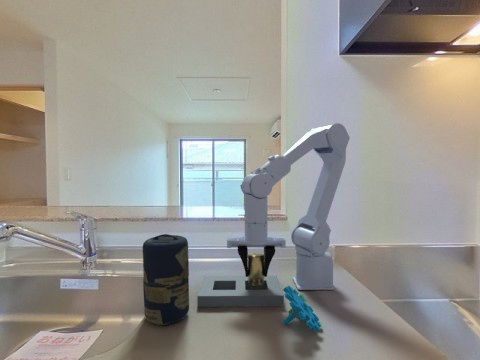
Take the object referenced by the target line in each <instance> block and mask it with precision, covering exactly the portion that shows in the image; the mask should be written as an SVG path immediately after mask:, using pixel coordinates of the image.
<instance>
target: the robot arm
mask: <svg viewBox="0 0 480 360" xmlns="http://www.w3.org/2000/svg"><path fill="white" fill-rule="evenodd" d="M349 141H350V135H349V133H348V132H347V129H346V127H345V126H344V125H343V124H342V123H337V122H336V123H332V124H329V125H324V126H320V127H313V128H312V129H311V130H310V131H307V132H306V133H305V134H304V136H302V137H300V139H299V140H298V141H296V142H295V144H293V146H291V147H290V148H289V149H287V151H286V152H285V153H284V154H282V155H280V154H276V155H270V156H269V157H268V158H267V159H268V161H267V162H265V163H264V164H262V165H261V166H260V167H256V168H255V169H254V173H250V174H247V175H246V176H245V177H244V178H243V181H242V182H241V184H240V190H241V192H242V193H243V194H244V236H243V237H233V238H232V237H231V238H230V237H229V238H226V248H227V249H231V248H237V253H238V255H239V258H240V260H241V263H242V264H243V269H244V272H245V275H244V276H246V277H248V255H249V253H248V252H249V251H248V250H249V249H248V248H263V255H264V277H267V276H268V272H269V269H270V268H269V267H270V264H271V261H272V259H273V257H274V256H275V254H276V248H279V247H280V248H283V249H285V248H286V241H287V240H286V238H285V237H271V236H268V196H269V195H271V193H272V190H273V188H274V186H275V185H277V183H278V182H280V181H281V180H283V178H285V177H286V176H287V175H288V174H289V173H291V167H292V165H293V164H294V163H296V162H297V161H298V160H300V159H301V158H302V157H304V156H305V155H306V154H308V153H309V152H311V151H312V150H313V152H314V153H316V155H318V156H319V158H320V159H322V162H323V164H322V167H321V171H320V173H319V175H318V178H317V179H318V180H317V182H316V185H315V188H314V191H313V193H312V197H311V199H310V203H309V206H308V209H307V212H306V214H305V215H304V216H302V217H300V219H298V223H297V225H296V226H295V227H294V228H293V229H292V231H291V234H290V235H291V239H290V240H291V242H292V243H293V245H294V246H295V256H296V257H295V267H296V268H295V276H292V281H293V282H294V285H295V286H296V289H297V290H299V291H320V290H321V291H324V290H325V291H326V290H327V291H328V290H329V291H330V290H331V291H333V290H335V287H334V262H333V260H334V259H333V256H332V254H331V253H330V251H329V252H328V249H329V247H330V241H331V240H330V235H331V231H332V230H331V227H330V226H329V224H328V223H327V219H328V216H329V214H330V210H331V207H332V204H333V201H334V199H335V195H336V193H337V189H338V186H339V183H340V179H341V177H342V173H343V171H344V167H345V164H346V160H347V159H346V158H347V147H348V145H349Z"/></svg>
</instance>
